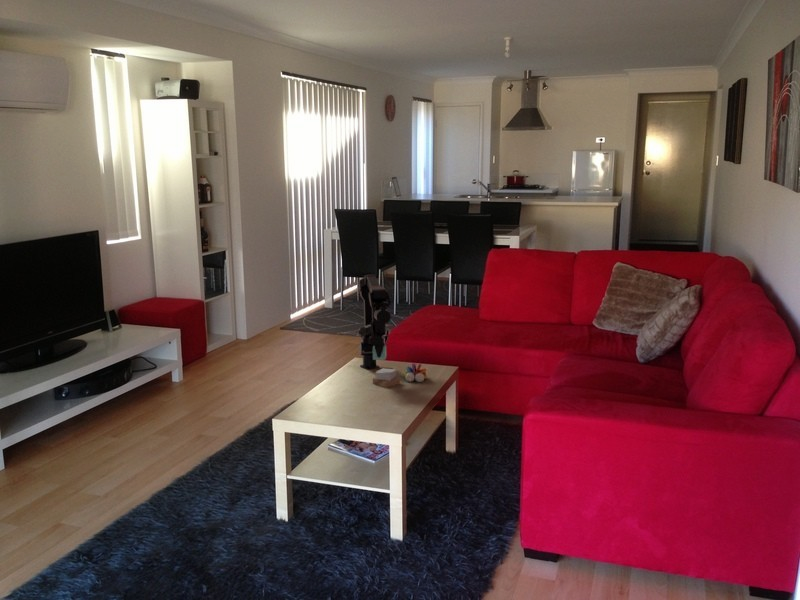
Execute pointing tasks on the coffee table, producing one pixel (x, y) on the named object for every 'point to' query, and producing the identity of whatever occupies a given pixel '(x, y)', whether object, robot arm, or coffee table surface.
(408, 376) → the rainbow segmented toy
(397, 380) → the tower base
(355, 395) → the coffee table surface
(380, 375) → the tower mid
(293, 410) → the coffee table surface
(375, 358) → the teal cube
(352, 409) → the coffee table surface
